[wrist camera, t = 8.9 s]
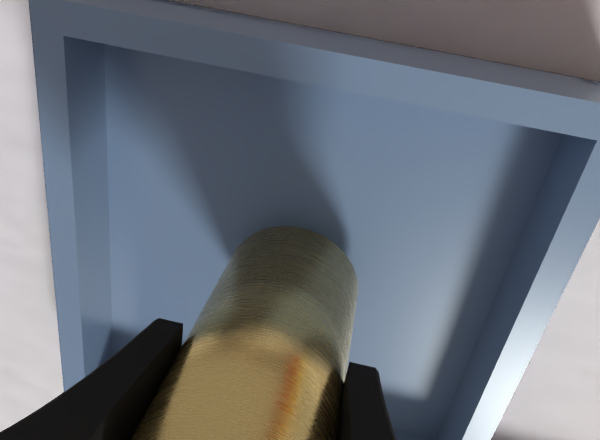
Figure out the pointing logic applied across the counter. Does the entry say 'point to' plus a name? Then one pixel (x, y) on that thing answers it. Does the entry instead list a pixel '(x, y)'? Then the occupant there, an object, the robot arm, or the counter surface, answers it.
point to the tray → (313, 188)
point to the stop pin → (264, 347)
